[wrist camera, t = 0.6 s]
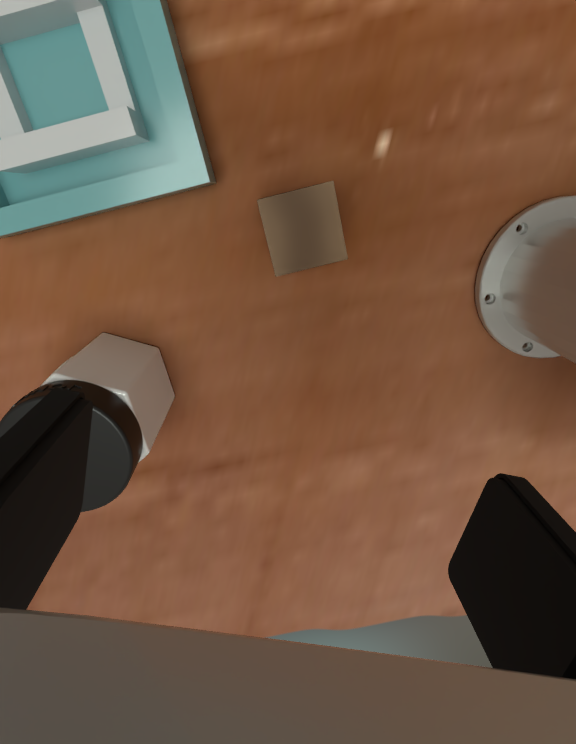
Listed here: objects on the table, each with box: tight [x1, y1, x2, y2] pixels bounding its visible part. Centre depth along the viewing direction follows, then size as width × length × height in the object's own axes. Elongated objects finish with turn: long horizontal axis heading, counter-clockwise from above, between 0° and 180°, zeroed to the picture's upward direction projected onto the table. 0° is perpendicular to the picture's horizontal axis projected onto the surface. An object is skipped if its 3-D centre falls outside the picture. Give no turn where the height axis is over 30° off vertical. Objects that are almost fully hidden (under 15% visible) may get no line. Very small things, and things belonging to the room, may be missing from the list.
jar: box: [0, 333, 175, 512], centre depth 33 cm, size 9×8×12 cm
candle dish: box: [0, 0, 217, 238], centre depth 29 cm, size 16×16×4 cm
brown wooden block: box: [257, 181, 348, 277], centre depth 31 cm, size 4×4×8 cm
